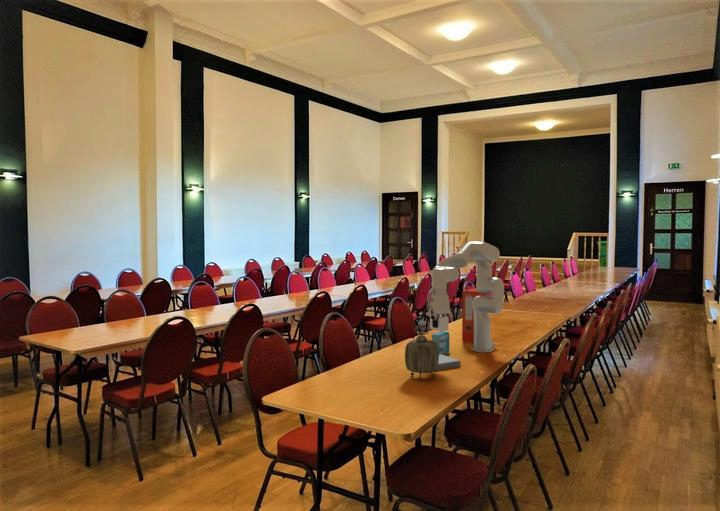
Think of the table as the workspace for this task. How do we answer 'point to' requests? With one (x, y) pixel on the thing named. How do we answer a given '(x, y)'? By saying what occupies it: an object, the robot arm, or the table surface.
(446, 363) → the grey square tray
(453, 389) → the table surface
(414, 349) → the tabletop clock
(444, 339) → the data package
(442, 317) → the block
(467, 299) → the file binder
